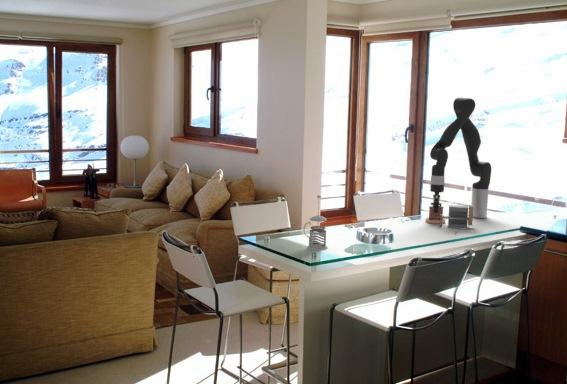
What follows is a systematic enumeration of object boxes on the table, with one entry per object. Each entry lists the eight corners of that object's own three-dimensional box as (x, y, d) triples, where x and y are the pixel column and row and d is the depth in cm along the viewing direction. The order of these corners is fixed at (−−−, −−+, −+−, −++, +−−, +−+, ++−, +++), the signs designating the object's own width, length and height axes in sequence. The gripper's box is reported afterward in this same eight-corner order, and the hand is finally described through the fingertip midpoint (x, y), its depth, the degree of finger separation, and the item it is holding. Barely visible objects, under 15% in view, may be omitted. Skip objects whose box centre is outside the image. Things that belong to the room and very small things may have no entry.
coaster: (425, 219, 386) (425, 217, 386) (445, 220, 384) (445, 218, 384) (425, 223, 376) (425, 220, 376) (445, 224, 373) (445, 221, 373)
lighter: (441, 219, 381) (442, 202, 379) (443, 220, 377) (444, 203, 376) (427, 219, 380) (428, 201, 379) (429, 220, 377) (430, 202, 375)
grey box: (448, 225, 371) (449, 204, 369) (466, 226, 369) (467, 205, 367) (448, 227, 365) (449, 206, 363) (467, 228, 362) (468, 207, 361)
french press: (329, 250, 308) (331, 196, 304) (304, 250, 307) (305, 196, 303) (326, 245, 317) (327, 193, 314) (302, 245, 316) (303, 193, 313)
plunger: (440, 224, 372) (441, 203, 370) (471, 226, 368) (472, 205, 366) (440, 226, 366) (441, 205, 364) (472, 228, 362) (473, 207, 360)
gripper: (444, 185, 369) (442, 214, 371) (444, 182, 383) (442, 209, 385) (430, 184, 370) (428, 213, 373) (430, 181, 384) (429, 209, 387)
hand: (435, 211), depth 379 cm, fingers open, 8 cm apart
